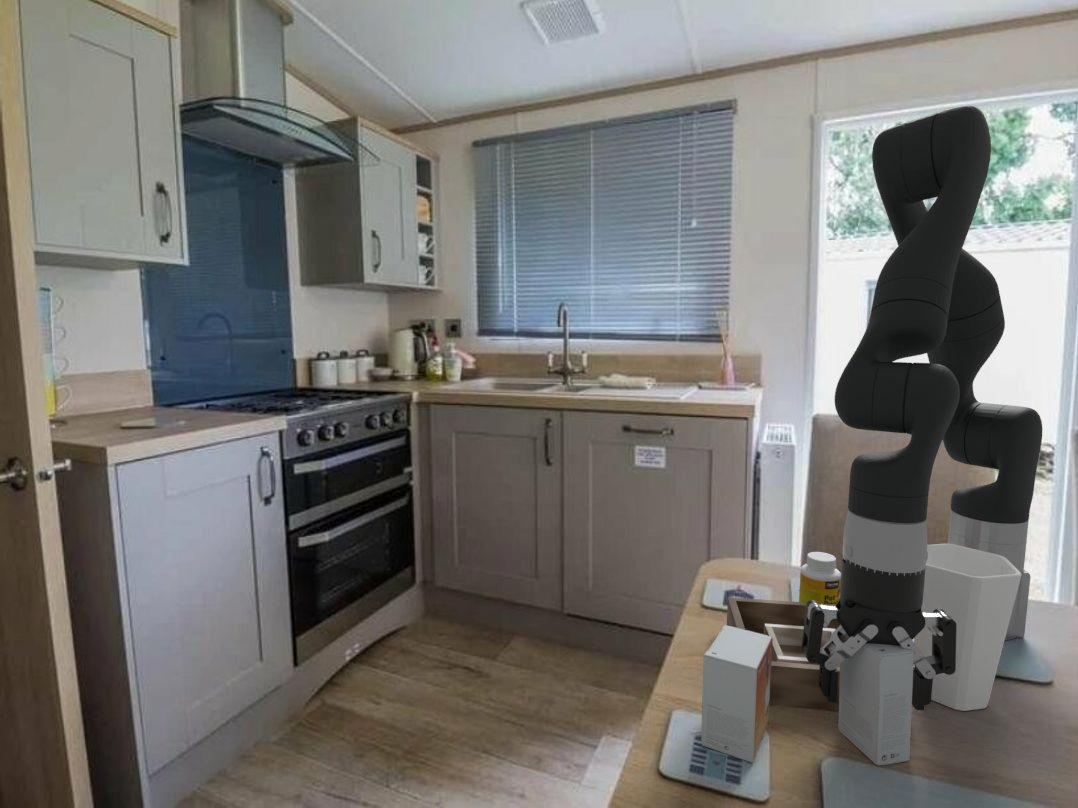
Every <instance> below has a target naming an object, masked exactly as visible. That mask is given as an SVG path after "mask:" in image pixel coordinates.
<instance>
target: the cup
mask: <svg viewBox="0 0 1078 808" xmlns="http://www.w3.org/2000/svg"><path fill="white" fill-rule="evenodd" d="M927 552H928V559H927V561H926V569H925V581H924V593H923V604H922V607H921V611H922V613H933V611H934V610H935V609H942V610H944V611H945V612H946V613H947V614H948V615H949V616H950V617H951V618H952V619H953V620H954V621H955V622H956V670H955V672H954V673H953V674H951V675H947V674H945V673H941V674H937V675H936V676H935V677H934V678H933V683H932V692H931V693H932V694H931V701H934V702H936V703H938V704H941V705H943V706H945V707H948V708H950V709H954V710H955V711H956V710H957V711H962V712H966V711H968V712H969V711H972V710H973V711H974V710H983V709H986V708H987V707H988V705H989V703H990V702H989V701H990V697H991V693H992V689H993V687H994V682H995V678H996V676H997V675H996V674H997V672H998V671H997V670H998V667H999V662H1000V659H1001V656H1002V655H1001V654H1002V652H1003V647H1004V644H1005V641H1006V640H1005V637H1006V633H1007V629H1008V625H1009V621H1010V617H1011V614H1012V610H1013V606H1014V602H1015V598H1016V594H1017V591H1018V587H1019V583H1020V579H1021V575H1022V574H1021V573H1020V572H1019V571H1018V570H1017V569H1016V568H1015V567H1014V566H1013V565H1012V564H1011V563H1010V562H1009V561H1008V560H1007V559H1006V558H1005V557H1003V556H1000V555H997V554H993V553H989V552H984V551H980V550H976V549H972V548H967V547H963V546H959V545H955V544H948V543H938V544H927ZM913 642H914V643H915V645H916V646H917V647H918V649H919V650H920V651H921V653H922V654H923V655H924V657H928V656H932V633H931V632H930V631H929V629H928V628H927V625H925V627H924V628H923V629H922V630H921V631H920V632H919V633H918V634H917V635H916V636H915V638H914V639H913Z"/></svg>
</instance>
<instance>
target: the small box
mask: <svg viewBox="0 0 1078 808" xmlns="http://www.w3.org/2000/svg"><path fill="white" fill-rule="evenodd" d="M772 640H773V638H772V637H771V636H767V635H763V634H759V633H755V632H752V631H748V630H744V629H740V628H736V627H732V626H727V624H724V625H722V628H721V629H720V631H719V632H718V634H717V636H716V637H715V639H714V641H713V642H712V643H711V645H710V646H709V648H708V649H707V650H706V651H705V652H704V654H703V663H702V664H703V666H702V667H703V668H702V669H703V671H702V673H703V674H702V699H701V701H702V703H701V704H702V705H701V738H700V739H701V741H700V742H701V743H700V744H701V746H703V747H705V748H707V749H712V750H714V751H717V752H720V753H723V754H726V755H729V756H731V757H734V758H737V759H740V760H743V761H746V762H749V763H751V764H752V763H755V759H756V756H757V753H758V750H759V747H760V745H761V743H762V740H763V737H764V736H765V732H766V730H767V728H768V725H769V717H770V716H769V715H770V705H769V699H770V677H771V660H772Z"/></svg>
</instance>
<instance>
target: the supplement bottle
mask: <svg viewBox="0 0 1078 808" xmlns="http://www.w3.org/2000/svg"><path fill="white" fill-rule="evenodd" d="M806 556H807V557H806V563H805V564H803V565H802V566H801V567H800V572H799V573H800V576H799V577H800V578H799V590H798V591H799V592H798V593H799V594H798V602H806V603H807V602H808V601H810V600H815V601H817V603H821V604H837V603H838V601H839V598H840V583H841V570H839V569H838V568H837V558H836V557H835V555H833V554H830V553H828V552H822V551H811V552H809V553H807V555H806Z"/></svg>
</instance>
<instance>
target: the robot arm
mask: <svg viewBox="0 0 1078 808" xmlns="http://www.w3.org/2000/svg"><path fill="white" fill-rule="evenodd" d="M991 153H992V140H991V133H990V129H989V124H988V121H987V119H986V116H985V115H984V113H983V111H982V110H981V109H980V108H979V107H977V106H975V105H972V104H971V105H970V104H965V105H960V106H955V107H951V108H948V109H944V110H940V111H939V112H934V113H932V114H931V113H930V114H928V115H925V116H921V117H918V118H916V119H913V120H912V119H911V120H910V121H907V122H903V123H901V124H898V125H895V126H892V127H889V128H887V129H884V130H883V131H881V132H880V133H879V134H878V135H877V136H876V138H875V140H874V141H873V145H872V151H871V158H872V159H871V161H872V169H873V174H874V175H873V176H874V179H875V184H876V187H877V189H878V192H879V196H880V199H881V201H882V204H883V208H884V211H885V213H886V215H887V218H888V221H889V224H890V227H891V229H892V232H893V235H894V237H895V240H896V243H897V247H896V248H895V249H894V251H892V253H891V255H890V256H889V257H888V258H887V260H886V262H885V263H884V265H883V267H882V269H881V271H880V272H879V275H878V278H877V281H876V285H875V290H874V295H873V298H872V299H873V300H872V304H871V308H870V309H871V311H870V313H869V314H870V315H869V320H868V324H867V326H866V329H865V331H864V334H863V336H862V338H861V339H860V342H859V344H858V346H857V348H856V350H855V351H854V352H853V354H852V355H851V357H850V359H849V361H848V362H847V364H846V366H844V369H843V371H842V373H841V375H840V377H839V379H838V382H837V384H836V388H835V393H834V407H835V411H836V413H837V415H838V417H839V419H840V420H841V421H842V423H844V424H845V425H846V426H848V428H853V429H855V430H863V431H875V432H884V433H885V432H886V433H894V434H895V433H896V434H908V435H911V437H910V439H909V443H908V444H907V445H906V446H905V447H903V448H901V449H897V450H892V451H881V452H870V453H869V452H867V453H864V454H860V455H858V456H857V457H855V458H854V459H853V461H852V463H851V465H850V466H851V467H850V470H849V472H850V473H849V487H848V488H849V489H848V501H847V502H848V503H847V504H848V505H847V514H846V518H845V522H844V527H843V537H842V552H841V555H842V556H841V570H840V573H841V583H840V598H839V601H838V603H837V604H836V606H835V607H834V606H826V605H819V604H818V603H817V601H815V600H810V601H808V602H807V605H806V613H805V621H804V629H803V637H802V645H801V647H802V650H803V651H804V653H805V655H806V658H807V660H808V661H809V662H810V663H817V664H820V667H819V683H818V684H819V687H820V689H821V691H822V693H823V695H824V696H826V698H827V700H828V702H835V703H836V701H837V687H838V670H837V667H838V666H839V665H840V664H841V663H842V662H843V661H844V660H845V659H846V658H851V657H852V656H853V655H854V654H855V653H856V652H857V651H858V650H859V649H860V648H861V647H862V646H863V645H864V644H886V645H896V646H902V648H903V649H906V650H912V651H914V663H913V665H914V666H913V689H912V708H913V709H915V711H923V712H924V711H925V708H926V706H930V704H931V701H932V700H931V694H932V693H931V692H932V683H933V678H934V677H935V676H936V675H937V674H941V673H945V674H947V675H951V674H953V673H954V672H955V670H956V622H955V621H954V620H953V619H952V618H951V617H950V616H949V615H948V614H947V613H946V612H945V611H944V610H942V609H935V610H934V611H933V613H922V611H921V607H922V604H923V593H924V581H925V569H926V561H927V559H928V552H927V545H929V544H928V542H929V541H928V529H927V527H928V525H927V519H928V517H927V516H928V505H929V504H928V503H929V494H930V493H929V491H930V484H931V478H932V472H933V468H934V464H935V460H936V457H937V455H938V452H939V449H940V447H941V444H942V442H943V445H944V448H945V450H946V453H947V454H948V456H949V457H950V458H951V459H952V460H953V461H955V462H958V463H961V464H965V465H969V466H975V467H981V468H988V469H994V470H998V472H997V476H996V477H997V478H996V480H995V481H993V482H991V483H988V484H983V485H973V486H972V485H971V486H964V487H959V488H957V489H956V490H953V492H952V494H951V498H950V513H949V521H948V523H949V524H948V537H947V544H955V545H959V546H963V547H967V548H972V549H976V550H980V551H984V552H989V553H993V554H997V555H1000V556H1003V557H1005V558H1006V559H1007V560H1008V561H1009V562H1010V563H1011V564H1012V565H1013V566H1014V567H1015V568H1016V569H1017V570H1018V571H1019V572H1020V573H1021V574H1022V575H1021V579H1020V583H1019V587H1018V591H1017V594H1016V598H1015V602H1014V606H1013V610H1012V614H1011V617H1010V621H1009V625H1008V629H1007V633H1006V637H1005V640H1004V641H1008V640H1012V639H1015V638H1025V633H1026V623H1027V616H1028V615H1027V614H1028V604H1029V603H1028V602H1029V595H1030V587H1031V586H1030V584H1031V573H1030V572H1028V571H1026V570H1025V560H1026V552H1027V551H1026V549H1027V542H1028V541H1027V540H1028V539H1027V538H1028V529H1029V520H1030V512H1031V511H1030V510H1031V505H1032V501H1033V498H1034V491H1035V485H1036V484H1035V482H1036V476H1037V470H1038V464H1039V458H1040V454H1041V447H1042V440H1043V421H1042V418H1041V416H1040V414H1039V413H1038V411H1037V410H1035V409H1033V408H1031V407H1027V406H1026V407H1025V406H1019V405H1011V404H1010V405H1009V404H998V403H997V404H996V403H987V402H979V401H978V400H977V398H976V396H975V393H974V381H975V379H976V376H977V375H978V373H979V372H980V370H981V369H982V367H983V366H984V365H985V363H986V362H987V361H988V360H989V359H990V357H991V356H992V354H993V352H994V351H995V350H996V348H997V347H998V345H999V343H1000V340H1001V339H1002V337H1003V335H1004V332H1005V328H1006V326H1005V325H1006V321H1005V314H1004V309H1003V304H1002V298H1001V294H1000V290H999V285H998V282H997V279H996V278H995V276H994V275H993V274H992V272H991V271H990V270H989V269H988V268H987V267H986V265H984V264H983V263H982V262H980V261H979V260H978V259H977V258H976V257H975V256H973V255H972V254H971V253H969V252H968V251H967V250H966V249H964V248H963V247H964V244H965V241H966V239H967V236H968V234H969V230H970V227H971V226H972V225H971V224H972V222H973V219H974V217H975V213H976V211H977V208H978V205H979V202H980V199H981V196H982V194H983V189H984V186H985V185H986V184H985V183H986V181H987V177H988V173H989V168H990V164H991V163H990V162H991V157H992V156H991V155H992V154H991ZM934 198H936V199H935V200H934V202H933V204H932V205H931V207H930V208H929V209H927V206H926V204H925V202H924V201H926V200H931V199H934ZM925 354H926V355H927V358H928V362H913V363H912V362H904V361H903V362H902V361H899V360H901V359H905V358H910V357H916V356H920V355H925ZM897 360H898V361H897ZM832 619H837V620H838V622H839V623H840V626H839V627H838V628H837V629H836V630H835V631H834V632H833V633H832V635H831V638H830V640H829V641H828V642H827V643H826V644H825V645H824V646H823V647H822V648H821V640H822V632H823V627H827V626H828V625H829V623H830V621H831V620H832ZM925 625H927V628H928V629H929V631H930V632H931V633H932V656H928V657H924V655H923V654H922V653H921V651H920V650H919V649H918V647H917V646H916V645H915V643H914V638H915V636H916V635H917V634H918V633H919V632H920V631H921V630H922V629H923V628H924V627H925ZM846 633H847V635H848V636H849V637H850V638H849V639H848V640H847V641H846V638H845V634H846Z"/></svg>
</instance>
